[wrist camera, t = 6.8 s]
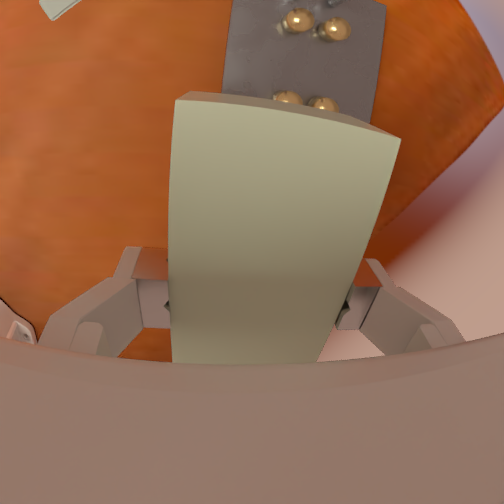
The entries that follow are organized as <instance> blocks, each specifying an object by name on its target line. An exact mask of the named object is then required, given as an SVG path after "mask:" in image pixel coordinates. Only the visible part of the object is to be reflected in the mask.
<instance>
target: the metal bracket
mask: <svg viewBox="0 0 504 504" xmlns="http://www.w3.org/2000/svg"><path fill="white" fill-rule="evenodd" d="M79 1H81V0H40V2H39V3H40V5H41V7H42V8H43V10H44V11H45V13H46V14H47V16H48V17H49V18H50V19H51V20H56V19H57V18H58V17H60V16H61V15H62V14H63V13H65V12H66V11H67V10H69V9H70V8H71V7H73V6H74V5H75V4H77V3H78V2H79Z"/></svg>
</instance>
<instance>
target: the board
mask: <svg viewBox="0 0 504 504" xmlns="http://www.w3.org/2000/svg"><path fill="white" fill-rule="evenodd" d="M400 142H401V139H400V138H398V137H396V136H394V135H392V134H390V133H388V132H386V131H384V130H381V129H379V128H377V127H375V126H373V125H370V124H368V123H366V122H363V121H361V120H359V119H356V118H354V117H352V116H349V115H345V114H341V113H337V112H333V111H328V110H324V109H319V108H315V107H310V106H305V105H299V104H294V103H289V102H283V101H277V100H271V99H264V98H257V97H250V96H242V95H233V94H223V93H212V92H199V91H189V92H187V93H186V94H184V95H182V96H181V97H179V98H178V99H176V100H175V109H174V120H173V132H172V146H171V162H170V182H169V213H168V275H169V291H170V296H169V306H170V308H171V329H170V331H171V347H172V361H173V363H193V364H236V365H246V364H291V363H311V362H316V361H317V359H318V357H319V355H320V353H321V351H322V349H323V347H324V345H325V343H326V341H327V338H328V336H329V334H330V332H331V330H332V328H333V326H334V323H335V321H336V319H337V317H338V315H339V312H340V310H341V308H342V306H343V303H344V301H345V299H346V296H347V294H348V292H349V289H350V287H351V285H352V282H353V280H354V277H355V275H356V272H357V270H358V267H359V265H360V262H361V260H362V257H363V255H364V252H365V249H366V247H367V244H368V241H369V239H370V236H371V233H372V231H373V228H374V225H375V222H376V219H377V216H378V214H379V211H380V208H381V205H382V202H383V199H384V196H385V193H386V190H387V186H388V183H389V180H390V177H391V174H392V170H393V167H394V164H395V160H396V157H397V153H398V150H399V146H400Z"/></svg>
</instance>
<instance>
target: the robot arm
mask: <svg viewBox="0 0 504 504" xmlns="http://www.w3.org/2000/svg"><path fill="white" fill-rule="evenodd" d="M169 296H170V291H169V275H168V249H164V248H150V247H135V246H127V247H126V248H125V249H124V251H123V254H122V256H121V258H120V261H119V263H118V266H117V268H116V270H115V273H114V275H113V277H108V278H106V279H105V280H103V281H101V282H100V283H98V284H97V285H95V286H94V287H92V288H91V289H89V290H88V291H86V292H85V293H83V294H81V295H80V296H78V297H77V298H75V299H74V300H72V301H71V302H69V303H68V304H66V305H65V306H63V307H62V308H61V309H59V310H58V311H56V312H55V313H53V314H52V315H50V317H49V319H48V322H47V324H46V326H45V328H44V330H43V332H42V334H41V337H40V339H39V341H38V343H37V340H36V336H35V332H34V329H33V327H32V325H31V324H30V323H28V322H27V321H26V320H24V319H23V318H21V317H19V316H18V315H16V314H15V313H14V312H13V311H12V310H11V309H10V308H9V307H8V306H7V305H6V304H5V303H4V302H3V301H2V300H1V299H0V504H504V333H501V334H497V335H493V336H489V337H485V338H481V339H476V340H472V341H467V342H466V341H465V340H464V338H463V336H462V335H461V333H460V332H459V330H458V329H457V327H456V326H455V324H454V323H453V322H452V320H451V319H449V318H447V317H446V316H444V315H443V314H441V313H440V312H438V311H437V310H435V309H434V308H432V307H431V306H429V305H427V304H426V303H424V302H423V301H421V300H420V299H418V298H417V297H415V296H413V295H412V294H410V293H409V292H407V291H405V290H404V289H402V288H401V287H396V285H395V284H394V282H393V281H392V280H391V278H390V277H389V275H388V274H387V273H386V271H385V270H384V268H383V267H382V265H381V264H380V263H379V261H378V260H376V259H362V260H361V262H360V265H359V267H358V270H357V272H356V275H355V277H354V280H353V282H352V285H351V287H350V289H349V292H348V294H347V296H346V299H345V301H344V303H343V306H342V308H341V310H340V312H339V315H338V317H337V319H336V321H335V323H334V324H335V326H336V328H337V330H356V329H357V330H359V329H360V332H362V333H363V334H364V335H365V336H366V337H367V338H368V339H369V340H370V341H371V342H372V343H373V344H374V345H375V346H376V347H378V348H379V349H380V350H381V351H382V352H383V353H384V354H385V355H386V356H378V357H370V358H361V359H350V360H339V361H327V362H311V363H291V364H246V365H236V364H193V363H173V362H158V361H146V360H135V359H126V358H117V356H118V355H119V354H120V353H121V352H122V351H123V350H124V349H125V348H126V347H127V346H128V345H129V343H130V342H131V341H132V340H133V339H134V338H135V337H136V336H137V335H138V334H139V333H140V332H141V331H142V329H143V327H146V328H170V329H171V308H170V306H169Z"/></svg>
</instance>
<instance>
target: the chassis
mask: <svg viewBox="0 0 504 504" xmlns="http://www.w3.org/2000/svg"><path fill="white" fill-rule="evenodd" d="M385 16H386V5H384V4H381V3H378V2H376V1H373V0H233V1H232V8H231V15H230V22H229V30H228V38H227V45H226V54H225V62H224V71H223V80H222V89H221V93H223V94H233V95H242V96H250V97H257V98H264V99H271V100H277V101H283V102H289V103H294V104H299V105H305V106H310V107H315V108H319V109H324V110H328V111H333V112H337V113H341V114H345V115H349V116H352V117H354V118H356V119H359V120H361V121H363V122H366V123H368V124H370V119H371V114H372V108H373V103H374V97H375V91H376V85H377V79H378V72H379V66H380V58H381V51H382V43H383V35H384V26H385Z"/></svg>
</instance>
